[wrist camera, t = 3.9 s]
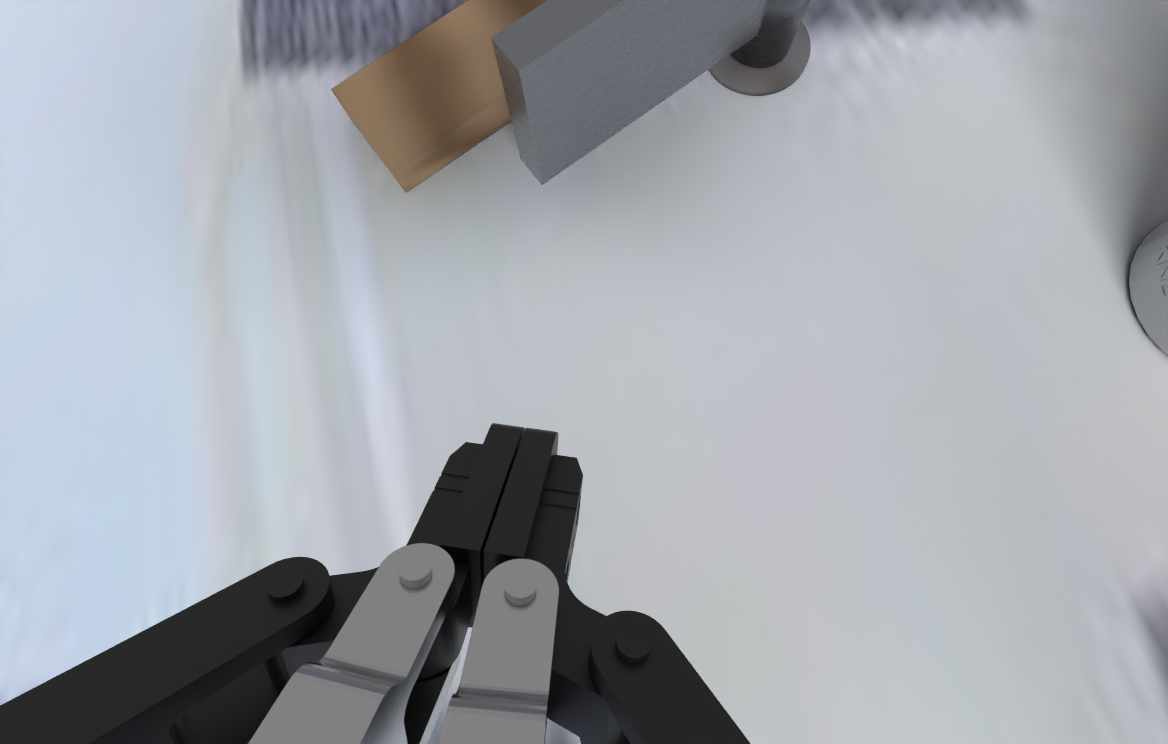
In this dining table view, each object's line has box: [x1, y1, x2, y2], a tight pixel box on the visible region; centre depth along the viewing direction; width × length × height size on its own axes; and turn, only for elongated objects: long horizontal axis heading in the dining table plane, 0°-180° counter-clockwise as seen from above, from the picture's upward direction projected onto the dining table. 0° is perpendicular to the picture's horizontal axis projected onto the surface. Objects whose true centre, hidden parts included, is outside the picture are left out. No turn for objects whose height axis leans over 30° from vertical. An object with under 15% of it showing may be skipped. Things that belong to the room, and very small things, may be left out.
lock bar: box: [491, 0, 810, 185], centre depth 27 cm, size 17×4×10 cm, turn 127°
